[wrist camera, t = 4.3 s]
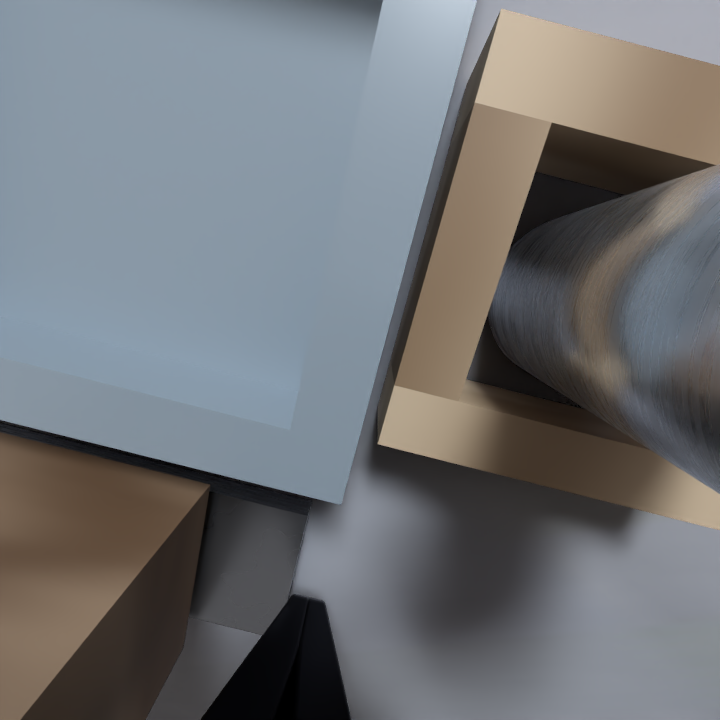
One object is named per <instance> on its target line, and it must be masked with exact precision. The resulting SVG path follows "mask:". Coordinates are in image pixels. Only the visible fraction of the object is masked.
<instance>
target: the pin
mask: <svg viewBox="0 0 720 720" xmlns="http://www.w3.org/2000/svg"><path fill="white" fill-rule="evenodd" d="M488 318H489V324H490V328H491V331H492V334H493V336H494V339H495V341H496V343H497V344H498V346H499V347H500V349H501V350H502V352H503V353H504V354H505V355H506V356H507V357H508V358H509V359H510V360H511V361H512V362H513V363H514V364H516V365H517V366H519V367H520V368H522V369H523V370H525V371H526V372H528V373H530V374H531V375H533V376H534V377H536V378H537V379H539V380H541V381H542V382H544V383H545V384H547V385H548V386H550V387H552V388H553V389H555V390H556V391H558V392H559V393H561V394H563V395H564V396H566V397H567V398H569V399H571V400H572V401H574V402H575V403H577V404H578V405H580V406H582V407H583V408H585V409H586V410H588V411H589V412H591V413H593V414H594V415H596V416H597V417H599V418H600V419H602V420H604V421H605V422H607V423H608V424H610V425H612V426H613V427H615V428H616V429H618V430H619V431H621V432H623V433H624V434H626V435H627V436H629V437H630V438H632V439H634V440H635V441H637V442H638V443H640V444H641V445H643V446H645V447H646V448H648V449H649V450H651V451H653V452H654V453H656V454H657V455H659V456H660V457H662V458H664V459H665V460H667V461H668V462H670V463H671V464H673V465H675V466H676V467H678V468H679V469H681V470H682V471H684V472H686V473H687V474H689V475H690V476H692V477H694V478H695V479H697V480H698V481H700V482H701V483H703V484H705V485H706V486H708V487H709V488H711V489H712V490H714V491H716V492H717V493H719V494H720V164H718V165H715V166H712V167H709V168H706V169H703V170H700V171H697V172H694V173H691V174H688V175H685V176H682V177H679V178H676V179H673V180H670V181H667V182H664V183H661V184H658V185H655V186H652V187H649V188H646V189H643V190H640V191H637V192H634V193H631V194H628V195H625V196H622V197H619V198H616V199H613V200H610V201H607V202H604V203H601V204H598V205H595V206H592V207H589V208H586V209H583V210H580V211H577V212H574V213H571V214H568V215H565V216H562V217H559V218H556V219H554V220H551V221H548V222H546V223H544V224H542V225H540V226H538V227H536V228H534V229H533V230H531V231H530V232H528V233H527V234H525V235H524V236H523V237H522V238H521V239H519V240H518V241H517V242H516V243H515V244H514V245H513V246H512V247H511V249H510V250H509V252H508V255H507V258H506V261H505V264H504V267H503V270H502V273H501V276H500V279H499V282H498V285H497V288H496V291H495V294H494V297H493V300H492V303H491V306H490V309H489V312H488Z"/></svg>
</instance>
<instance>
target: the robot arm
mask: <svg viewBox="0 0 720 720" xmlns="http://www.w3.org/2000/svg"><path fill="white" fill-rule="evenodd" d="M201 720H351V716H350V711H349V707H348V703H347V698H346V694H345V689H344V685H343V680H342V676H341V671H340V667H339V662H338V658H337V654H336V649H335V645H334V640H333V636H332V631H331V627H330V622H329V618H328V614H327V609H326V605H325V602H324V601H322V600H318V599H314V598H308V597H306V596H302V595H298V594H293V595H292V596H291V597H290V598H289V600H288V601H287V603H286V604H285V605H284V607H283V608H282V609H281V611H280V612H279V613H278V615H277V616H276V618H275V619H274V620H273V622H272V623H271V624H270V626H269V627H268V628H267V630H266V631H265V632H264V634H263V635H262V637H261V638H260V639H259V641H258V642H257V643H256V645H255V646H254V647H253V649H252V650H251V652H250V653H249V654H248V656H247V657H246V658H245V660H244V661H243V662H242V664H241V665H240V667H239V668H238V669H237V671H236V672H235V673H234V675H233V676H232V677H231V679H230V680H229V681H228V683H227V684H226V686H225V687H224V688H223V690H222V691H221V692H220V694H219V695H218V696H217V698H216V699H215V701H214V702H213V703H212V705H211V706H210V707H209V709H208V710H207V711H206V713H205V714H204V715H203V717H202V718H201Z"/></svg>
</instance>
